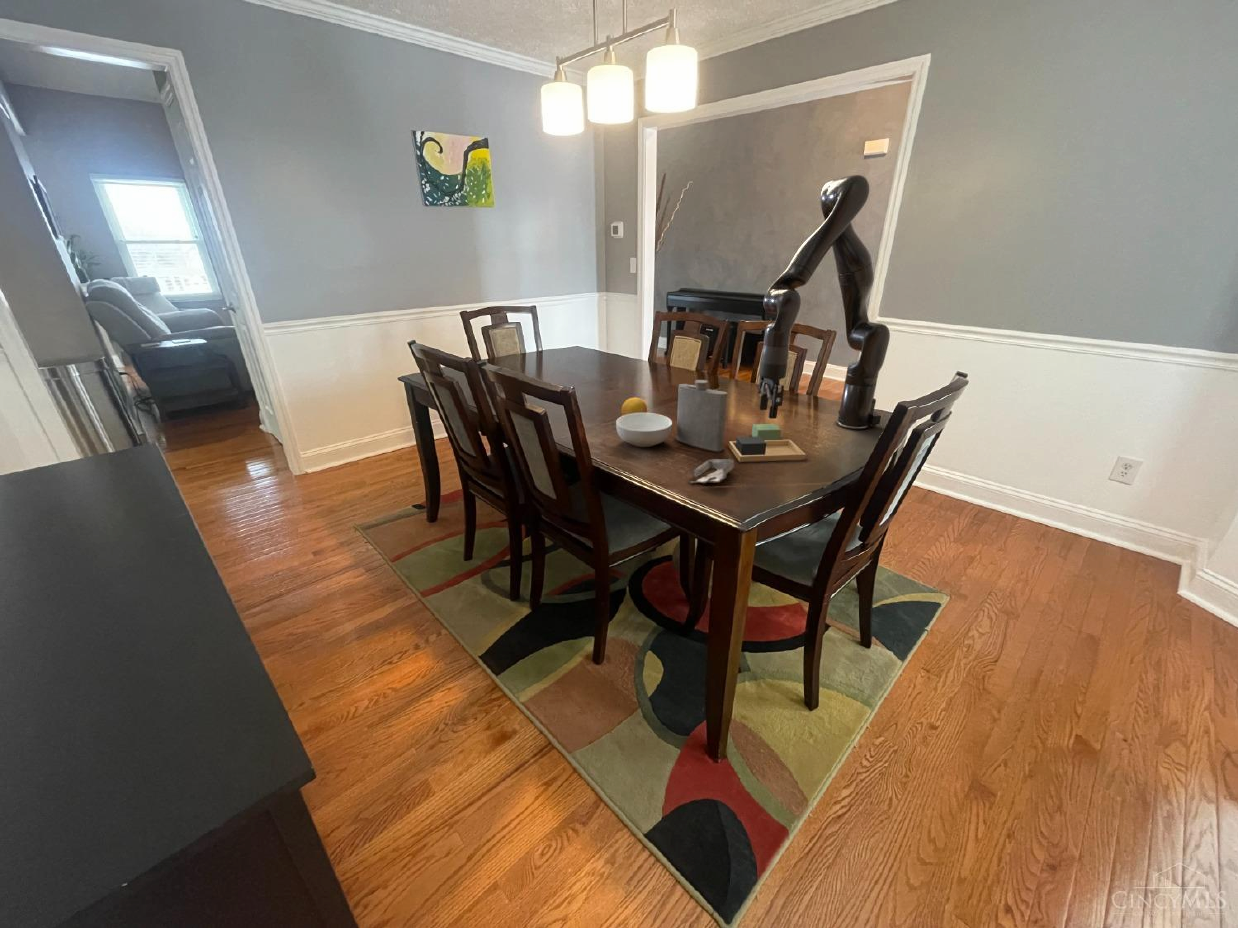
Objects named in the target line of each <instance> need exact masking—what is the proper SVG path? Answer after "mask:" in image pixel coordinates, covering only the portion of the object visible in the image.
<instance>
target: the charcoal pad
mask: <svg viewBox="0 0 1238 928" xmlns="http://www.w3.org/2000/svg"><path fill="white" fill-rule="evenodd" d="M735 438H736V439H735V441H736V448H737V449H738V451H739V452H740V453H741V455H765V452H766V444H767V443H766V442H765V441H764V440H763V439H762V438H761V437H760V436H756V437H753V436H736V437H735Z"/></svg>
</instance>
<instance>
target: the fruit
mask: <svg viewBox="0 0 1238 928" xmlns="http://www.w3.org/2000/svg"><path fill="white" fill-rule="evenodd" d="M632 413H648V406H647V403H646V401H644V400H643V399H642V398H640V397H630V398H628V399H626V400H625V401H624V403H623V404H622V406H621V416H624V415H627V414H632Z"/></svg>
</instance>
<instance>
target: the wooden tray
mask: <svg viewBox="0 0 1238 928" xmlns="http://www.w3.org/2000/svg"><path fill="white" fill-rule="evenodd" d="M764 441H765V442H766V443H767V444H766V452H765V455H741V453H740V452H739V451H738V449H737V448H736V440H734V441H733V440H732V441H728V448H729V449H730V450H731V452H732V453H733V455H734V456H735V458H736V459H737V460H738V462H739V463H742V462H743V463H744V462H770V461H772V462H773V461H774V462H775V461H802V460H806V458H807V457H806V456H807V454H806V453H805V452H804V451H803V450H802V449H801V448H800V447H799V446H798V445H796V443H795V442H794V441H792V440H791V439H780V440H764Z"/></svg>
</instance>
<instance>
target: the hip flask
mask: <svg viewBox="0 0 1238 928" xmlns="http://www.w3.org/2000/svg"><path fill="white" fill-rule="evenodd" d="M708 385H709V383H708V380H706V379H695V381H694V384H688V383H680V384H678V390H677V391H678V394H677V414H676V415H677V416H676V437H675V438H676V441H677V442H678V441H679V442H681V443H683V444H687V445H689V446H691V447H692V446H693V447H695V448H696V447H697V448H700V449H703V450H708V451H713V452H722V451H723V450H724V449H723V448H724V438H725V425H726V414H727V413H726V412H727V401H728V392H727V391H722V390H716V389H709V388H708Z"/></svg>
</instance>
